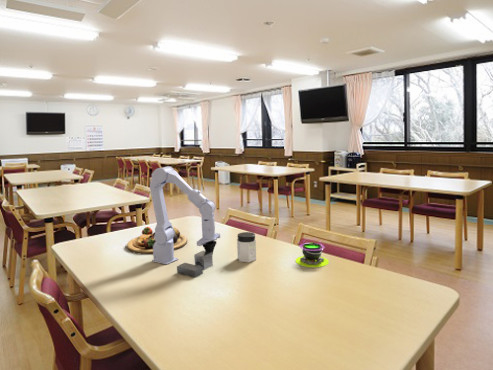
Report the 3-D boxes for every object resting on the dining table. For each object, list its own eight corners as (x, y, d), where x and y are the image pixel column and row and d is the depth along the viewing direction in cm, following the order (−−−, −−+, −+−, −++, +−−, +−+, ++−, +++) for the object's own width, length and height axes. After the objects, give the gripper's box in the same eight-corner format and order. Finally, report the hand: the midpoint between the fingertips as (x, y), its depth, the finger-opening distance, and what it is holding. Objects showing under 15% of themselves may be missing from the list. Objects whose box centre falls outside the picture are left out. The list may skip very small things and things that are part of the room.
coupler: (177, 273, 148) (176, 266, 147) (197, 263, 159) (197, 256, 159) (195, 277, 142) (194, 270, 142) (215, 267, 154) (215, 260, 153)
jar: (246, 264, 156) (245, 238, 155) (233, 259, 162) (233, 234, 160) (259, 258, 162) (259, 234, 161) (247, 254, 168) (247, 230, 167)
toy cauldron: (314, 270, 147) (314, 245, 146) (288, 261, 159) (288, 238, 157) (335, 261, 157) (335, 238, 156) (309, 253, 168) (309, 231, 167)
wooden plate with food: (123, 241, 197) (122, 227, 195) (179, 233, 210) (178, 219, 208) (130, 260, 168) (129, 243, 167) (194, 249, 181) (193, 233, 180)
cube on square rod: (195, 267, 154) (194, 254, 153) (203, 263, 159) (203, 250, 158) (204, 269, 151) (203, 256, 150) (212, 265, 156) (212, 252, 155)
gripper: (205, 233, 148) (206, 263, 150) (225, 225, 160) (226, 253, 162) (192, 231, 152) (194, 260, 153) (212, 223, 164) (214, 251, 166)
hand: (209, 257), depth 158 cm, fingers closed
